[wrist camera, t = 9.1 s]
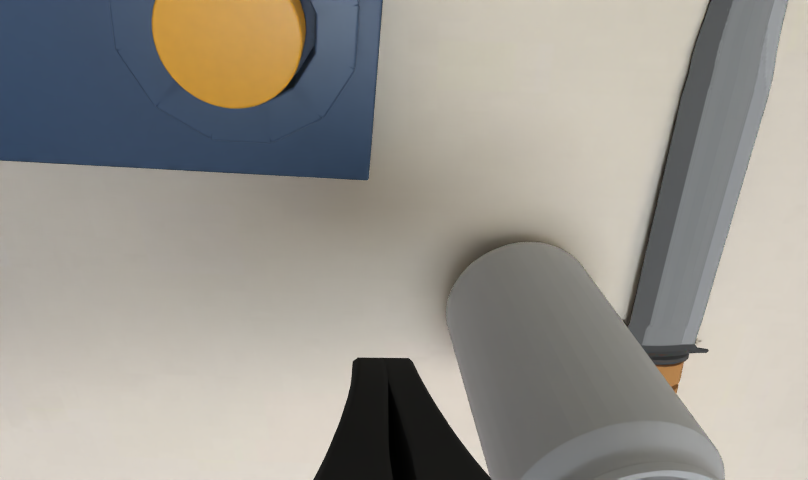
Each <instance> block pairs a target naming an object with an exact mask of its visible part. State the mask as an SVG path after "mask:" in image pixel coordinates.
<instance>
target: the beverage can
mask: <svg viewBox="0 0 808 480" xmlns="http://www.w3.org/2000/svg"><path fill="white" fill-rule="evenodd" d="M446 321H447V326H448V330H449V334H450V337H451V341H452V344H453V348H454V351H455V355H456V358H457V362H458V365H459V369H460V372H461V376H462V379H463V383H464V386H465V390H466V394H467V397H468V401H469V404H470V408H471V411H472V415H473V418H474V422H475V425H476V429H477V432H478V436H479V439H480V443H481V447H482V450H483V454H484V457H485V461H486V464H487V468H488V471H489V475H490V478H491V479H492V480H725V475H724V465H723V461H722V458H721V456H720V454H719V452H718V450H717V449H716V447H715V446H714V444H713V443H712V442H711V440H710V439H709V438H708V436H707V435H706V434H705V432H704V431H703V430H702V428H701V427H700V425H699V424H698V423H697V421H696V420H695V419H694V417H693V416H692V415H691V413H690V412H689V410H688V409H687V408H686V406H685V405H684V404H683V402H682V401H681V400H680V398H679V397H678V396H677V394H676V393H675V391H674V390H673V389H672V387H671V386H670V385H669V383H668V382H667V381H666V379H665V378H664V376H663V375H662V374H661V372H660V371H659V370H658V368H657V367H656V366H655V364H654V363H653V362H652V360H651V359H650V357H649V356H648V355H647V353H646V352H645V351H644V349H643V348H642V347H641V345H640V344H639V343H638V341H637V340H636V338H635V337H634V336H633V334H632V333H631V332H630V330H629V329H628V328H627V326H626V325H625V323H624V322H623V321H622V319H621V318H620V317H619V315H618V314H617V313H616V311H615V310H614V309H613V307H612V306H611V304H610V303H609V302H608V300H607V299H606V298H605V296H604V295H603V294H602V292H601V291H600V289H599V288H598V287H597V285H596V284H595V283H594V281H593V280H592V279H591V277H590V276H589V275H588V273H587V272H586V270H585V269H584V268H583V266H582V265H581V264H580V263H579V262H578V261H577V260H576V259H575V258H574V257H573V256H572V255H570V254H569V253H568V252H566V251H564V250H563V249H560V248H558V247H556V246H553V245H550V244H545V243H540V242H520V243H513V244H509V245H505V246H502V247H499V248H496V249H494V250H492V251H490V252H488V253H486V254H484V255H482V256H481V257H479V258H478V259H476V260H475V261H474V262H473V263H471V264H470V265H469V266H468V267H467V268H466V269H465V270H464V271H463V272H462V274H461V275H460V276H459V277H458V279H457V280H456V282H455V284H454V286H453V287H452V290H451V292H450V295H449V297H448V301H447V307H446Z"/></svg>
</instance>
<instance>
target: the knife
mask: <svg viewBox="0 0 808 480" xmlns="http://www.w3.org/2000/svg"><path fill="white" fill-rule="evenodd" d="M787 4H788V0H711V2H710V5H709V7H708V10H707V13H706V16H705V18H704V21H703V24H702V27H701V30H700V33H699V36H698V39H697V42H696V45H695V48H694V51H693V55H692V60H691V64H690V69H689V73H688V77H687V80H686V83H685V87H684V90H683V93H682V96H681V101H680V105H679V109H678V114H677V118H676V123H675V127H674V131H673V136H672V140H671V144H670V149H669V153H668V157H667V162H666V166H665V171H664V175H663V179H662V184H661V188H660V192H659V197H658V201H657V206H656V210H655V214H654V219H653V223H652V227H651V232H650V236H649V241H648V245H647V249H646V254H645V258H644V262H643V267H642V271H641V275H640V280H639V284H638V289H637V293H636V297H635V302H634V306H633V310H632V315H631V319H630V324H629V325H628V326H627V328H628V329H629V330H630V332H631V333H632V334H633V336H634V337H635V338H636V340H637V341H638V343H639V344H640V345H641V347H642V348H643V349H644V351H645V352H646V353H647V355H648V356H649V357H650V359H651V360H652V362H653V363H654V364H655V366H656V367H657V368H658V370H659V371H660V372H661V374H662V375H663V376H664V378H665V379H666V381H667V382H668V383H669V385H670V386H671V387H672V389H673V390H674V391H675V393H677V389H678V383H679V381H680V378H681V373H682V368H683V363H684V361H686V360H687V359H688V356H689V353H707V352H708V351H709V350H708V349H704V348H697V347H696V345H695V341H696V338H697V334H698V331H699V328H700V325H701V322H702V319H703V316H704V312H705V309H706V306H707V302H708V299H709V295H710V292H711V289H712V285H713V282H714V278H715V275H716V272H717V268H718V265H719V262H720V258H721V255H722V251H723V248H724V245H725V241H726V238H727V234H728V231H729V228H730V224H731V221H732V218H733V214H734V211H735V207H736V204H737V201H738V197H739V194H740V190H741V187H742V184H743V180H744V177H745V174H746V170H747V167H748V163H749V160H750V157H751V153H752V150H753V146H754V143H755V140H756V136H757V133H758V130H759V126H760V123H761V119H762V116H763V113H764V109H765V106H766V102H767V99H768V95H769V91H770V87H771V82H772V78H773V73H774V66H775V60H776V53H777V48H778V43H779V38H780V34H781V29H782V24H783V20H784V16H785V12H786V8H787Z"/></svg>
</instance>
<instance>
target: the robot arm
mask: <svg viewBox="0 0 808 480" xmlns="http://www.w3.org/2000/svg"><path fill="white" fill-rule="evenodd" d="M314 480H492V479H491V478H490V477H489V476H488V475H487V473H486V472H485V471H484V470H483V469H482V468H481V466H480V465H479V464H478V463H477V462H476V460H475V459H474V458H473V457H472V455H471V454H470V453H469V452H468V450H467V449H466V448H465V446H464V445H463V444H462V442H461V441H460V440H459V438H458V437H457V436H456V434H455V433H454V431H453V430H452V428H451V427H450V426H449V424H448V422H447V421H446V419H445V418H444V416H443V415H442V413H441V412H440V410H439V409H438V407H437V406H436V404H435V402H434V401H433V399H432V397H431V396H430V394H429V392H428V390H427V389H426V387H425V385H424V383H423V382H422V380H421V378H420V376H419V374H418V372H417V370H416V368H415V366H414V364H413V362H412V361H411V360H410V359H409V358H357V359H355V360H354V361H353V365H352V378H351V386H350V390H349V394H348V398H347V401H346V404H345V407H344V411H343V414H342V417H341V420H340V422H339V425H338V428H337V430H336V432H335V435H334V437H333V440H332V442H331V444H330V447H329V449H328V451H327V454H326V456H325V458H324V460H323V462H322V464H321V466H320V468H319V470H318V472H317V474H316V476H315V478H314Z"/></svg>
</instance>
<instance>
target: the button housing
mask: <svg viewBox="0 0 808 480" xmlns="http://www.w3.org/2000/svg"><path fill="white" fill-rule="evenodd" d="M300 2H301V5H302V8H303V11H304V16H305V22H306V35H305V42H304V47H303V51H302V55H301V59H300V62H299V65H298V68H297V70H296V72H295V74H294V76H293V78H292V79H291V81H290V82H289V84H288V85H287V86H286V87H285V88H284V89H283V90H282V91H281V92H280V93H279V94H278V95H276V96H275V97H274V98H272V99H270V100H269V101H267V102H265V103H262V104H260V105H257V106H253V107H249V108H241V109H231V108H224V107H219V106H215V105H212V104H209V103H206V102H204V101H202V100H200V99H198V98H196V97H194V96H193V95H191V94H190V93H189V92H187V91H186V90H185V89H183V88H182V87H181V86H180V85H179V84H178V83H177V82H176V81H175V80H174V79H173V78H172V77H171V75H170V74H169V72H168V71H167V70H166V68H165V67H164V65H163V63H162V61H161V60H160V57H159V55H158V53H157V50H156V47H155V43H154V40H153V34H152V12H153V7H154V3H155V0H0V160H2V161H21V162H39V163H57V164H76V165H94V166H112V167H131V168H149V169H168V170H186V171H204V172H223V173H241V174H259V175H278V176H296V177H315V178H333V179H351V180H368V179H369V170H370V157H371V144H372V131H373V118H374V106H375V93H376V80H377V67H378V54H379V41H380V29H381V16H382V3H383V0H300Z"/></svg>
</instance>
